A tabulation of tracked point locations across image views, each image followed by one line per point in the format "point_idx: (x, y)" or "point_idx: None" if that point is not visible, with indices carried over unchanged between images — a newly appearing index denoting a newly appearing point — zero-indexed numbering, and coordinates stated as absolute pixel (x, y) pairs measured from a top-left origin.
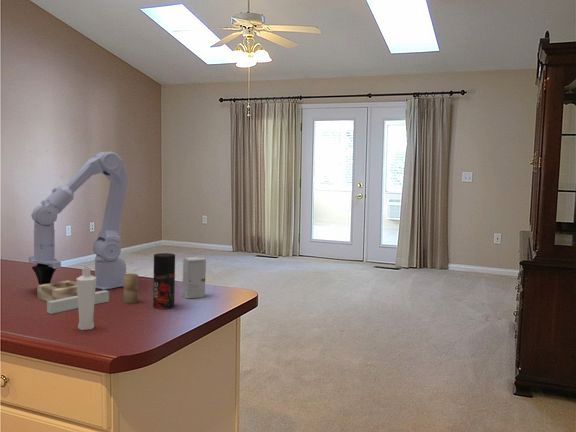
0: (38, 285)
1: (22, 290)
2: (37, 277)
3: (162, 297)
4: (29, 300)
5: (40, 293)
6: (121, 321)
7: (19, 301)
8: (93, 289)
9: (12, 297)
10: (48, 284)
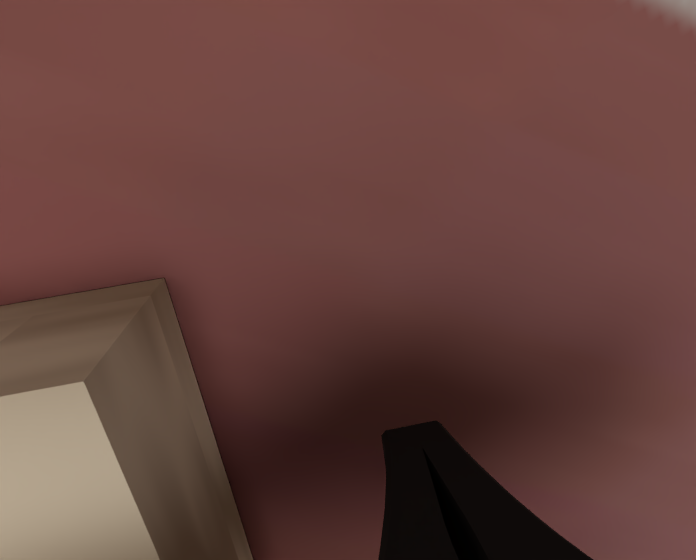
0: (55, 395)
1: (693, 278)
2: (529, 534)
3: None
4: (123, 165)
5: (42, 331)
6: None
7: (131, 20)
8: None
9: (444, 36)
10: (67, 545)
